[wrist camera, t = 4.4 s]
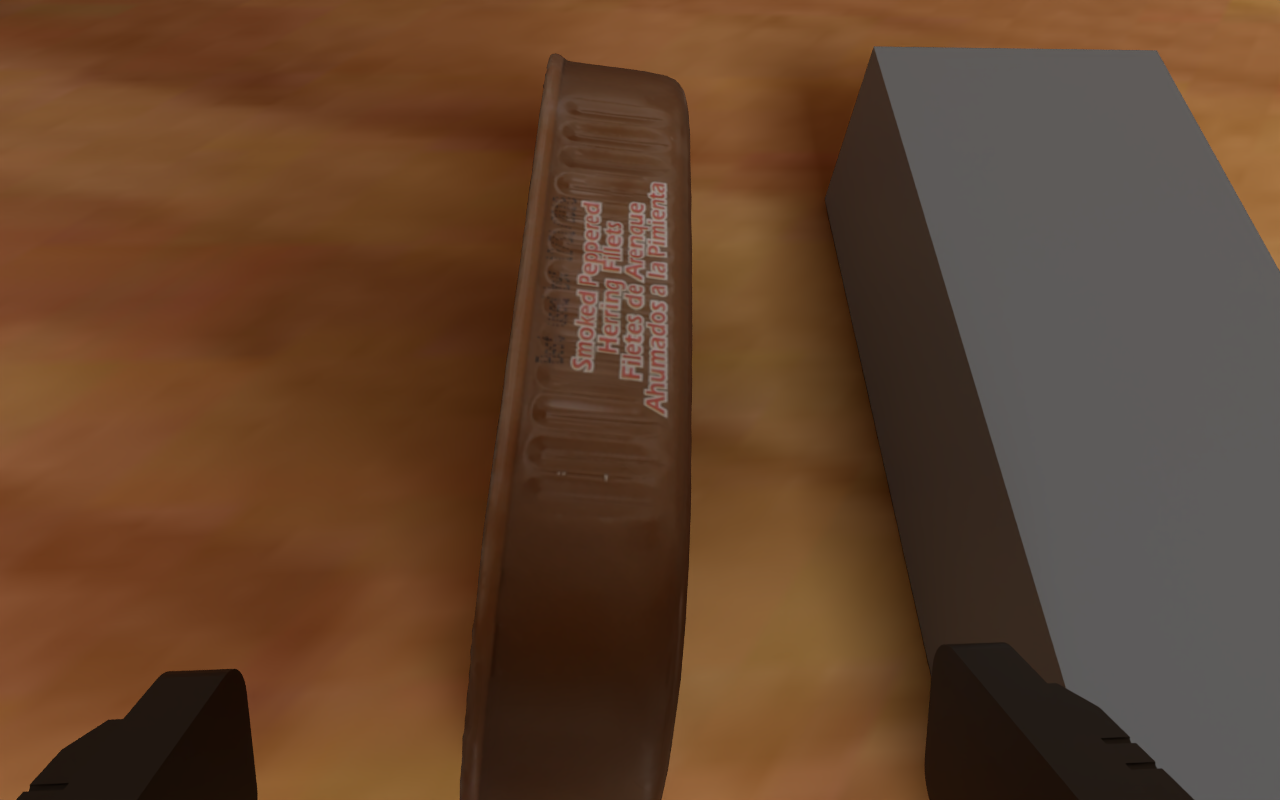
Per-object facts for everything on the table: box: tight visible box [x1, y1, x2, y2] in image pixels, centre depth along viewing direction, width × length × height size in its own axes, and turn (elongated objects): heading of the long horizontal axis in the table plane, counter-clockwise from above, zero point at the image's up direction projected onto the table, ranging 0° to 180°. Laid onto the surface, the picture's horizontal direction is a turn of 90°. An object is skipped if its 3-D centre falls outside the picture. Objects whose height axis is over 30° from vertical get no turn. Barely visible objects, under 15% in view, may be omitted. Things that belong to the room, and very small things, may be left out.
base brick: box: [825, 47, 1280, 800], centre depth 18 cm, size 7×19×5 cm, turn 3°
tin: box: [460, 54, 692, 800], centre depth 16 cm, size 15×3×8 cm, turn 178°
